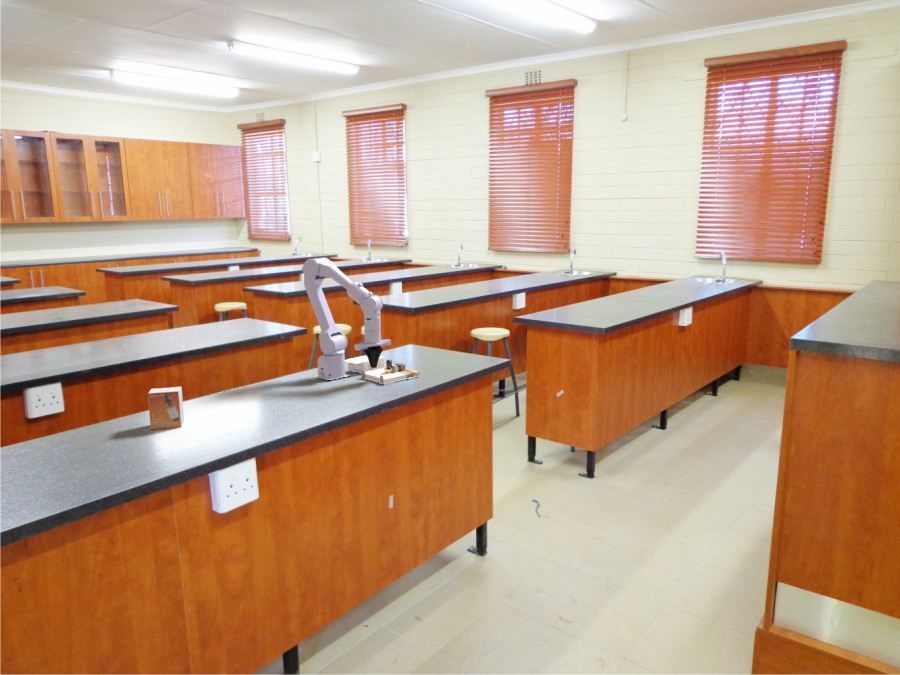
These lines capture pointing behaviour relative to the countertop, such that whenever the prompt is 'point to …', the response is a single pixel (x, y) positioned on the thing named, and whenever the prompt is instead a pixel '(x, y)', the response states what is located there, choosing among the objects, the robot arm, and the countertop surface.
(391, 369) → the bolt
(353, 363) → the ink cartridge box
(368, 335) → the robot arm
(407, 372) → the door jamb
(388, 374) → the door board
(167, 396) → the small box
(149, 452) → the countertop surface
